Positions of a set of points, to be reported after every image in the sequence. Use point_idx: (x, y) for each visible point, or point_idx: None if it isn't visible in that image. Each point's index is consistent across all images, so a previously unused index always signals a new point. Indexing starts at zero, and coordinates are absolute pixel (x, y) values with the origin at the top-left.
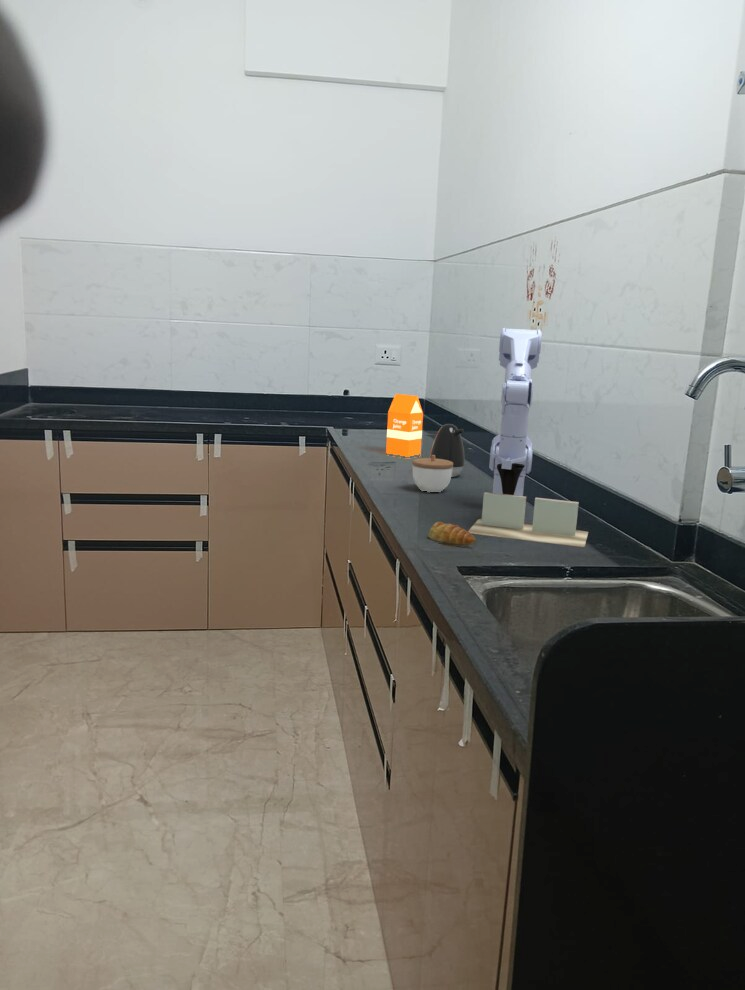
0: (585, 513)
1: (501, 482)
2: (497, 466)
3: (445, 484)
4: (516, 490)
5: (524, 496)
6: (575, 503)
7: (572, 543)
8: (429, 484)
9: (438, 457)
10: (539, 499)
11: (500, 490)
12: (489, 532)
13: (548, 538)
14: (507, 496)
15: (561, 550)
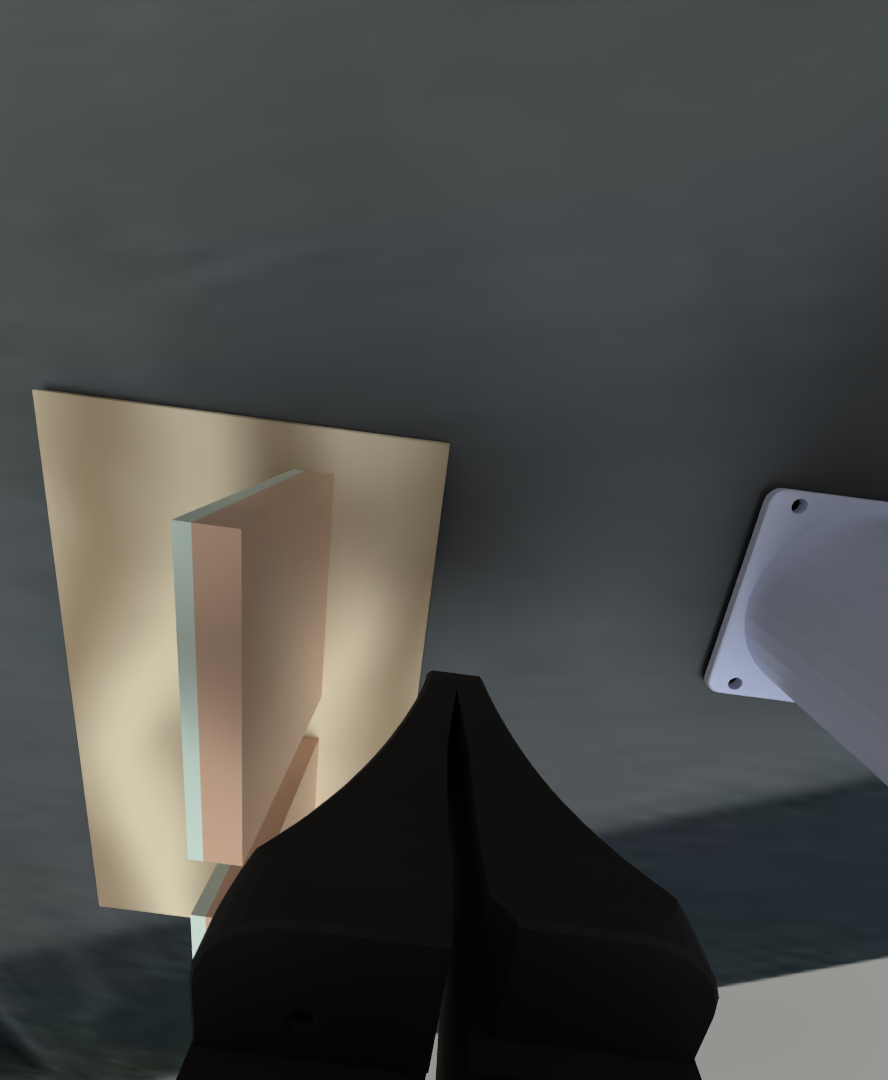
0: (829, 957)
1: (390, 738)
2: (240, 903)
3: None
4: (862, 756)
5: (235, 853)
6: None
7: (132, 872)
8: None
9: None
10: (192, 937)
11: (884, 628)
12: (119, 525)
13: (165, 793)
14: (186, 729)
15: (50, 820)
